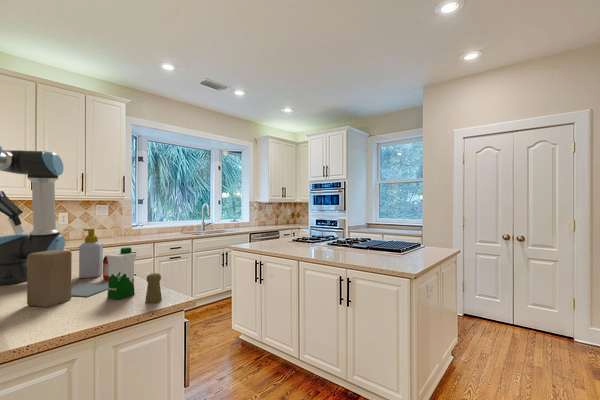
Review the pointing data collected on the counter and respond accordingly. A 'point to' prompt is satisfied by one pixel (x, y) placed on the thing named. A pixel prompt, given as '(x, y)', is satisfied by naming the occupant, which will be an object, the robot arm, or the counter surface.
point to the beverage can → (105, 268)
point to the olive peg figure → (153, 289)
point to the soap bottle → (90, 256)
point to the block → (48, 277)
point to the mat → (88, 289)
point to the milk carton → (121, 274)
